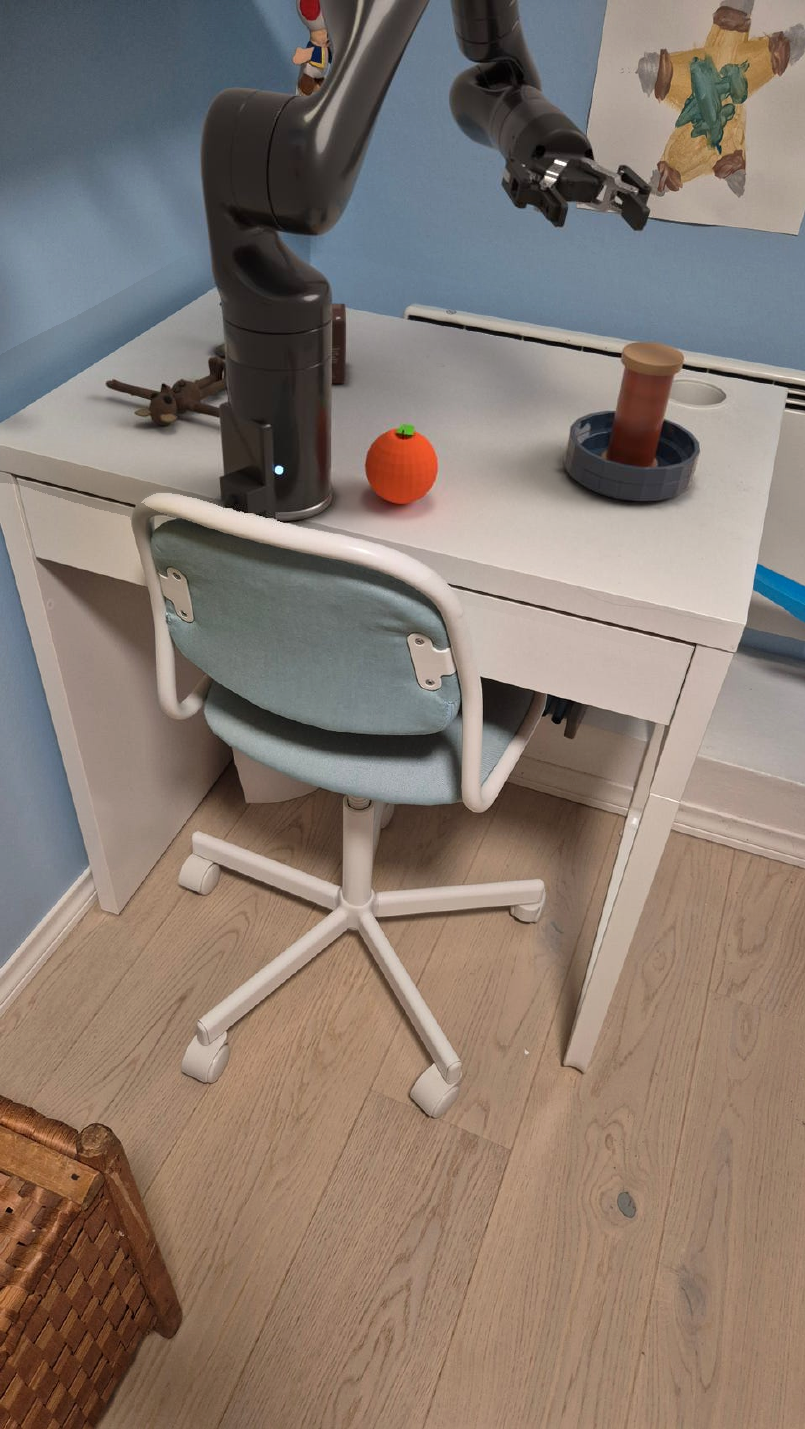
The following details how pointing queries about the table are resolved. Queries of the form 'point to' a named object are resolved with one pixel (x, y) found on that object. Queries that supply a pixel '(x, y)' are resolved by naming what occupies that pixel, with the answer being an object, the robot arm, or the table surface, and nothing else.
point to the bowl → (630, 481)
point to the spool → (642, 402)
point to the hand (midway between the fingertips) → (603, 219)
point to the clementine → (401, 465)
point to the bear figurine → (179, 395)
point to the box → (338, 343)
